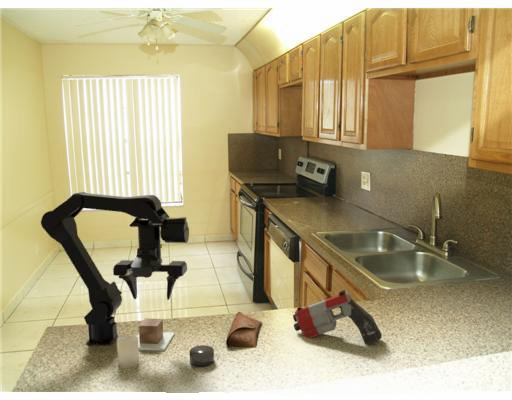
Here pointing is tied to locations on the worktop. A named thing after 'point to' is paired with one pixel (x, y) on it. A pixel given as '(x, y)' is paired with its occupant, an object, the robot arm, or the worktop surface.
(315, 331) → the toy gun
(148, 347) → the tile
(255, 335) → the sunglasses case
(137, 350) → the stoneware jar
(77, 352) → the worktop surface
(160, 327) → the walnut cube
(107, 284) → the robot arm
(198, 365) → the black tin
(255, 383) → the worktop surface
